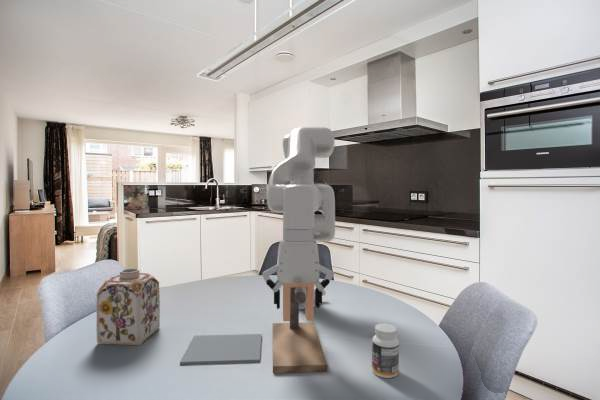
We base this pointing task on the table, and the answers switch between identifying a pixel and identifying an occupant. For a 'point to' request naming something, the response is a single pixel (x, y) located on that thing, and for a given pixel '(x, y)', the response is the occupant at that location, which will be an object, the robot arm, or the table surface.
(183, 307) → the table surface
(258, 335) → the mat
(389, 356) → the pill bottle
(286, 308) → the link
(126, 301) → the decorative jar
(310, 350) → the stand
